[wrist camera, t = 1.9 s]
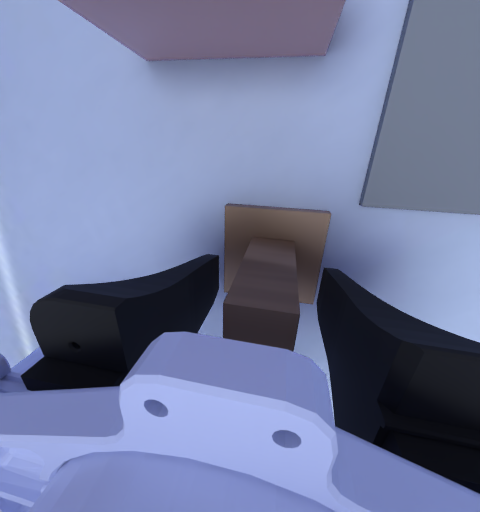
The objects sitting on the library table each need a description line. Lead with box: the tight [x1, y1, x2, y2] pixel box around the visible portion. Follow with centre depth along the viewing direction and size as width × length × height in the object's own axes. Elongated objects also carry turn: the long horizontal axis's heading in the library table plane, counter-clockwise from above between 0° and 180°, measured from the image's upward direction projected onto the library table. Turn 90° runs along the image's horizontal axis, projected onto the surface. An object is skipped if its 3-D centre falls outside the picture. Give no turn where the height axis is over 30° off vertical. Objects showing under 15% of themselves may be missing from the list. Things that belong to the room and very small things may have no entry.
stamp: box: [223, 203, 331, 352], centre depth 11 cm, size 6×6×8 cm
